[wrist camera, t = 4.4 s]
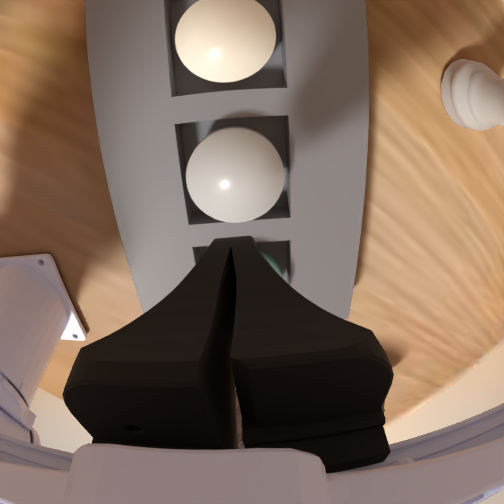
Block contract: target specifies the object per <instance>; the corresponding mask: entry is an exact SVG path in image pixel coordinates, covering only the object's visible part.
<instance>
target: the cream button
mask: <svg viewBox="0 0 504 504" xmlns="http://www.w3.org/2000/svg"><path fill="white" fill-rule="evenodd" d="M275 42H276V31H275V26H274V23H273V20H272V18H271V16H270V15H269V13H268V12H267V11H266V9H265V8H264V7H263V6H262V5H260V4H259V3H258V2H256V1H255V0H199V1H197V2H196V3H194V4H193V5H192V6H191V7H190V8H189V9H187V11H186V12H185V13H184V14H183V16H182V17H181V19H180V21H179V23H178V25H177V29H176V34H175V45H176V50H177V53H178V55H179V57H180V59H181V61H182V62H183V64H184V65H185V66H186V67H187V68H188V69H189V70H190V71H191V72H192V73H194V74H195V75H197V76H199V77H201V78H203V79H206V80H209V81H214V82H234V81H238V80H242V79H244V78H247V77H249V76H251V75H253V74H254V73H256V72H257V71H259V70H260V69H261V68H262V67H263V66H264V65H265V64H266V63H267V61H268V60H269V58H270V57H271V55H272V52H273V50H274V47H275Z"/></svg>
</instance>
